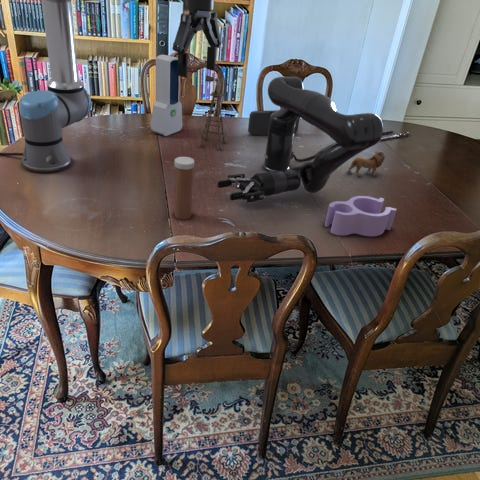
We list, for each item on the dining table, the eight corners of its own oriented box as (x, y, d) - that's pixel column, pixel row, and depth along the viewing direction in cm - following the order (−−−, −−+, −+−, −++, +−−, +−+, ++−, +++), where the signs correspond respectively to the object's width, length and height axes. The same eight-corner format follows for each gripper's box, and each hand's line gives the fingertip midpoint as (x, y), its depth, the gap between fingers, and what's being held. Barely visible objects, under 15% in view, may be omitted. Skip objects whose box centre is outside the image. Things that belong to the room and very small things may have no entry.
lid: (175, 169, 128) (175, 164, 127) (173, 161, 132) (173, 156, 131) (195, 169, 129) (195, 164, 128) (192, 161, 133) (193, 156, 132)
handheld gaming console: (295, 131, 210) (298, 109, 204) (297, 134, 208) (301, 111, 202) (247, 133, 203) (249, 110, 197) (249, 135, 201) (251, 112, 195)
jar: (175, 219, 137) (176, 165, 127) (174, 211, 141) (175, 158, 131) (192, 219, 138) (194, 165, 128) (190, 211, 142) (192, 158, 132)
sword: (406, 132, 223) (406, 130, 222) (411, 134, 221) (412, 132, 220) (362, 144, 207) (363, 141, 206) (368, 146, 205) (368, 143, 204)
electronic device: (164, 137, 190) (164, 60, 174) (149, 132, 193) (148, 56, 177) (182, 129, 199) (184, 56, 183) (169, 125, 202) (169, 52, 186)
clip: (337, 240, 135) (342, 219, 131) (318, 218, 145) (322, 198, 141) (395, 233, 141) (402, 213, 137) (373, 213, 151) (378, 194, 147)
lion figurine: (375, 170, 181) (381, 148, 176) (383, 176, 177) (389, 153, 172) (342, 172, 176) (348, 150, 171) (350, 178, 172) (355, 156, 167)
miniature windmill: (220, 150, 184) (225, 71, 167) (199, 146, 185) (203, 68, 168) (225, 142, 191) (231, 66, 175) (205, 139, 192) (209, 63, 176)
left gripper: (182, -4, 118) (180, 82, 129) (236, -6, 136) (230, 69, 147) (159, -8, 121) (159, 76, 132) (215, -10, 139) (211, 64, 150)
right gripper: (259, 163, 151) (214, 169, 144) (283, 182, 141) (236, 189, 134) (257, 184, 155) (213, 191, 148) (279, 204, 145) (234, 212, 138)
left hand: (197, 73), depth 140 cm, fingers open, 13 cm apart
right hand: (224, 190), depth 141 cm, fingers open, 8 cm apart
